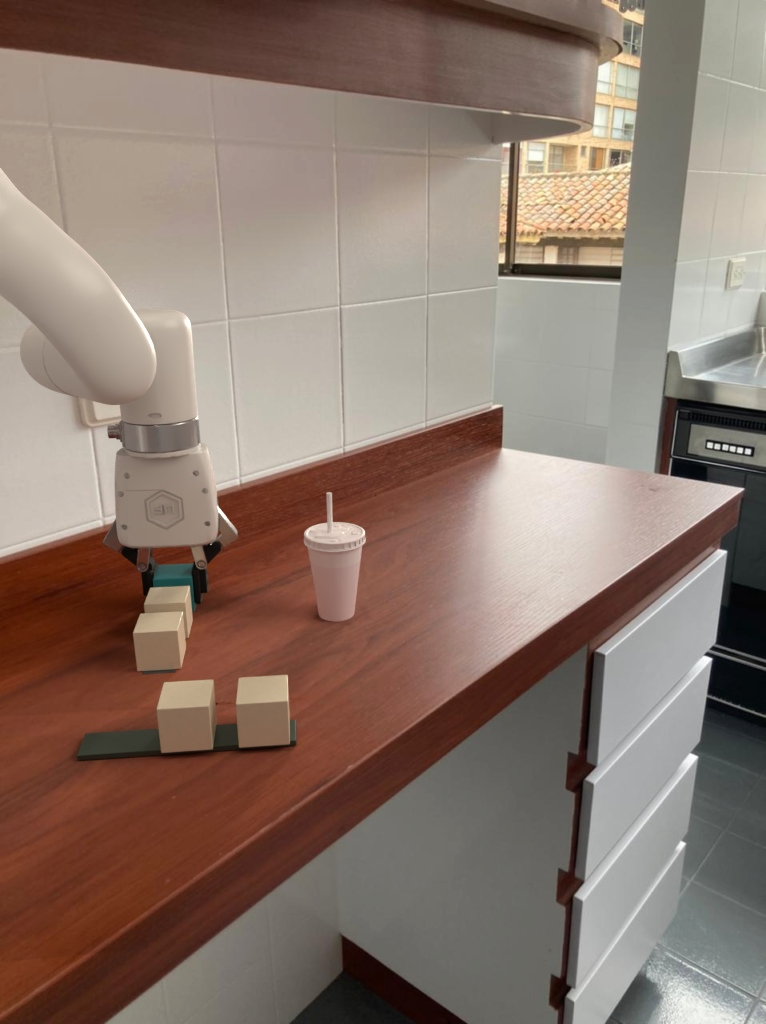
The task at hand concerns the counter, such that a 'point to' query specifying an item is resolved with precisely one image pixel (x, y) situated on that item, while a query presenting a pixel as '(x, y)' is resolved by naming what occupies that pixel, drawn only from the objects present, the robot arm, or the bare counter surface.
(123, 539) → the robot arm
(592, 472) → the counter surface
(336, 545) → the smoothie
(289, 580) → the counter surface
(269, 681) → the dark strip with cubes
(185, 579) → the teal rectangular block
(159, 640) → the beige double cube
